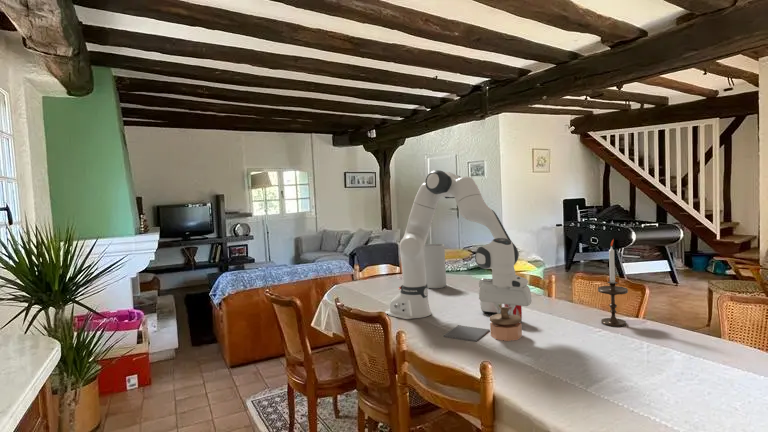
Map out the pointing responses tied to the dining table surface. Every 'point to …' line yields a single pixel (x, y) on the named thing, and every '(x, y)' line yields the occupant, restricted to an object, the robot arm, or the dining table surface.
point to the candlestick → (612, 293)
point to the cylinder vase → (435, 265)
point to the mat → (467, 333)
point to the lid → (505, 317)
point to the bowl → (506, 331)
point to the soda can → (515, 310)
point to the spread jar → (489, 308)
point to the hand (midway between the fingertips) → (505, 314)
